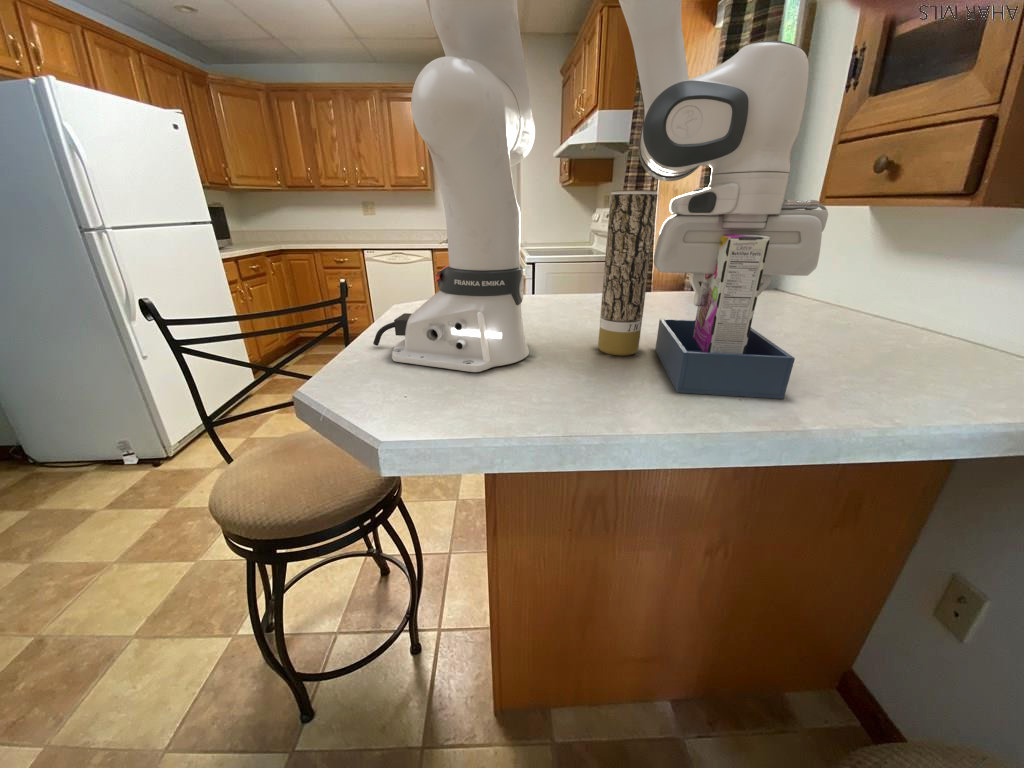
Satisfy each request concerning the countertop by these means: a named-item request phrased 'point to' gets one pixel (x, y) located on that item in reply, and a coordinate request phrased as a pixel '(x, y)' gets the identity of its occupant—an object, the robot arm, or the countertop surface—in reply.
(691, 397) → the countertop surface
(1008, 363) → the countertop surface
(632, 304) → the paper tube
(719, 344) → the candy bar box
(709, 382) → the tote
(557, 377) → the countertop surface
